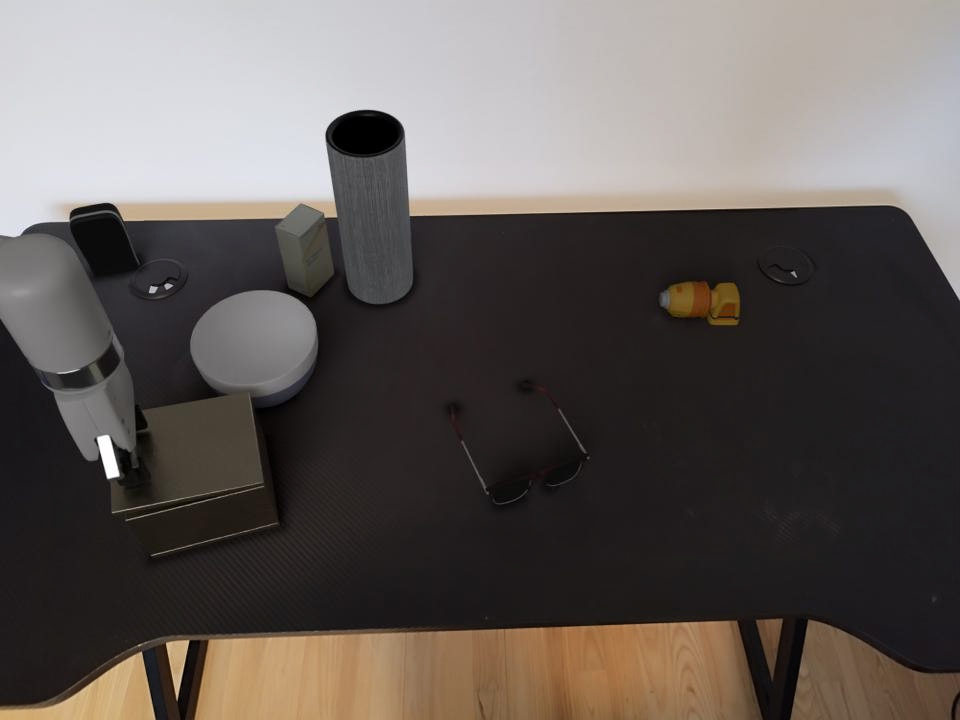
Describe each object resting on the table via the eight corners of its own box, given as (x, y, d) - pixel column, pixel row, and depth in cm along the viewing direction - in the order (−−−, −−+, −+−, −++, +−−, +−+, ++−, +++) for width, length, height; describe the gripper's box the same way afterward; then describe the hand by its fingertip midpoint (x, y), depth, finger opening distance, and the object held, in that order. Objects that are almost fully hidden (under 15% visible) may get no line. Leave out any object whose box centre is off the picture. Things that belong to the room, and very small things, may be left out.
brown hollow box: (152, 559, 93) (125, 520, 85) (147, 467, 100) (121, 424, 92) (280, 526, 96) (264, 486, 88) (265, 439, 103) (250, 395, 95)
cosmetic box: (311, 298, 118) (298, 239, 109) (287, 287, 120) (272, 227, 110) (335, 272, 122) (325, 212, 112) (312, 262, 123) (300, 201, 114)
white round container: (265, 449, 102) (250, 407, 95) (183, 387, 108) (163, 343, 100) (350, 372, 110) (342, 327, 103) (269, 318, 116) (256, 272, 108)
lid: (113, 516, 84) (99, 491, 80) (110, 419, 91) (97, 391, 87) (264, 486, 88) (259, 460, 84) (249, 395, 95) (244, 367, 91)
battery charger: (140, 252, 123) (115, 195, 114) (141, 269, 121) (116, 213, 112) (92, 262, 122) (63, 205, 113) (93, 279, 120) (64, 222, 111)
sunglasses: (486, 512, 98) (486, 490, 94) (440, 415, 107) (439, 392, 104) (586, 476, 101) (590, 454, 97) (533, 386, 111) (535, 362, 107)
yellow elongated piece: (659, 325, 117) (740, 326, 117) (666, 300, 113) (750, 301, 113) (654, 298, 120) (733, 299, 121) (661, 273, 116) (743, 273, 116)
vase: (336, 295, 119) (311, 146, 98) (363, 251, 125) (344, 101, 104) (398, 312, 117) (386, 164, 96) (422, 266, 123) (416, 117, 102)
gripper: (35, 293, 77) (97, 399, 91) (29, 439, 67) (100, 533, 81) (117, 279, 79) (165, 386, 93) (122, 419, 69) (175, 515, 83)
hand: (134, 453), depth 87 cm, fingers closed on lid, 6 cm apart
